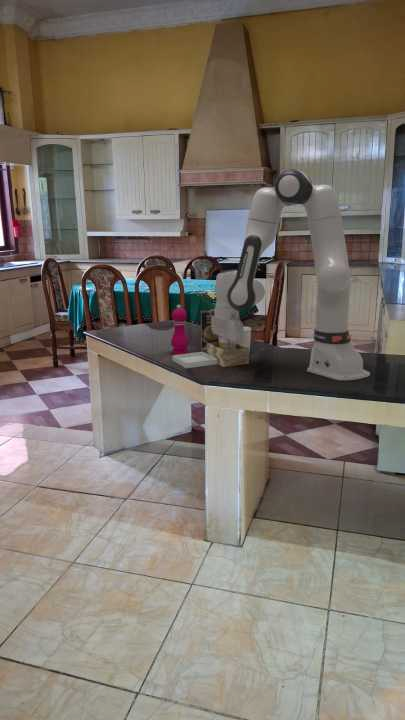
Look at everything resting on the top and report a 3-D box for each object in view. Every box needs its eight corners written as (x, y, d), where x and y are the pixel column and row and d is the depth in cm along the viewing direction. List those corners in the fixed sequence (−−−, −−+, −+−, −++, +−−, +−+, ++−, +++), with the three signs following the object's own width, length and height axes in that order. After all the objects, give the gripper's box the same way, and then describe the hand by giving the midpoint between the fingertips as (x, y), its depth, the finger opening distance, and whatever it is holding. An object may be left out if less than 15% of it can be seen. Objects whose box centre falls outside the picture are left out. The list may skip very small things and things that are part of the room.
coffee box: (201, 350, 223) (200, 312, 219) (201, 347, 229) (200, 309, 225) (223, 350, 223) (223, 312, 219) (222, 346, 229) (222, 309, 225)
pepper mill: (188, 355, 216) (187, 306, 211) (170, 355, 216) (169, 306, 211) (189, 351, 223) (188, 303, 218) (171, 351, 223) (170, 303, 218)
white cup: (249, 354, 215) (249, 330, 213) (230, 354, 217) (230, 329, 214) (251, 350, 222) (252, 326, 220) (233, 349, 224) (233, 326, 222)
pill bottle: (224, 358, 210) (224, 329, 208) (239, 360, 207) (239, 330, 204) (215, 361, 205) (215, 331, 202) (230, 364, 202) (230, 333, 199)
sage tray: (217, 364, 202) (217, 359, 201) (185, 368, 197) (185, 363, 196) (203, 356, 213) (203, 351, 213) (172, 360, 208) (172, 355, 207)
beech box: (248, 363, 202) (249, 348, 200) (223, 367, 198) (223, 351, 196) (230, 355, 215) (230, 340, 213) (206, 358, 210) (206, 343, 209)
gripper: (248, 316, 194) (247, 354, 197) (222, 309, 212) (222, 343, 215) (232, 318, 191) (232, 356, 195) (208, 310, 209) (208, 344, 213)
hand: (227, 349), depth 205 cm, fingers closed on pill bottle, 6 cm apart
